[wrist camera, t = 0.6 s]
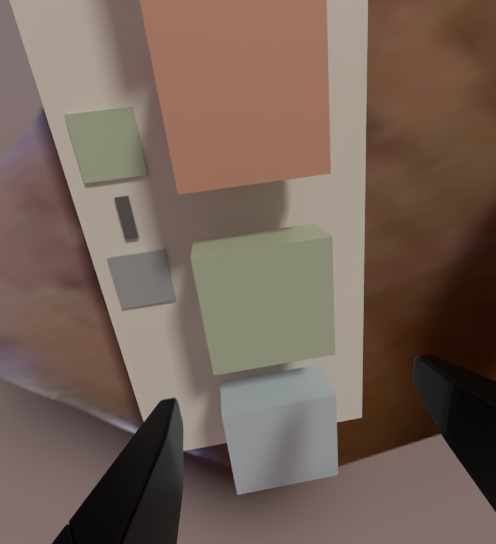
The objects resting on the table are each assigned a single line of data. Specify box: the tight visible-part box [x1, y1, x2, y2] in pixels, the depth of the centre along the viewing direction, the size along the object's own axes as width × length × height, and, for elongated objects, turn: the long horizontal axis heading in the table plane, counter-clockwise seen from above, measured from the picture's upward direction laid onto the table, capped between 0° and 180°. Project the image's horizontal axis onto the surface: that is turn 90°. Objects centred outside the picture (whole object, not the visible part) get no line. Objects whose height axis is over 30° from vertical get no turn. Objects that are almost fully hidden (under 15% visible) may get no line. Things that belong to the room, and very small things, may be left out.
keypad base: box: [9, 0, 368, 451], centre depth 17 cm, size 14×31×3 cm, turn 7°
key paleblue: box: [220, 365, 338, 495], centre depth 18 cm, size 6×6×2 cm
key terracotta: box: [140, 0, 331, 195], centre depth 12 cm, size 6×6×2 cm
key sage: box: [191, 224, 335, 375], centre depth 15 cm, size 6×6×2 cm
